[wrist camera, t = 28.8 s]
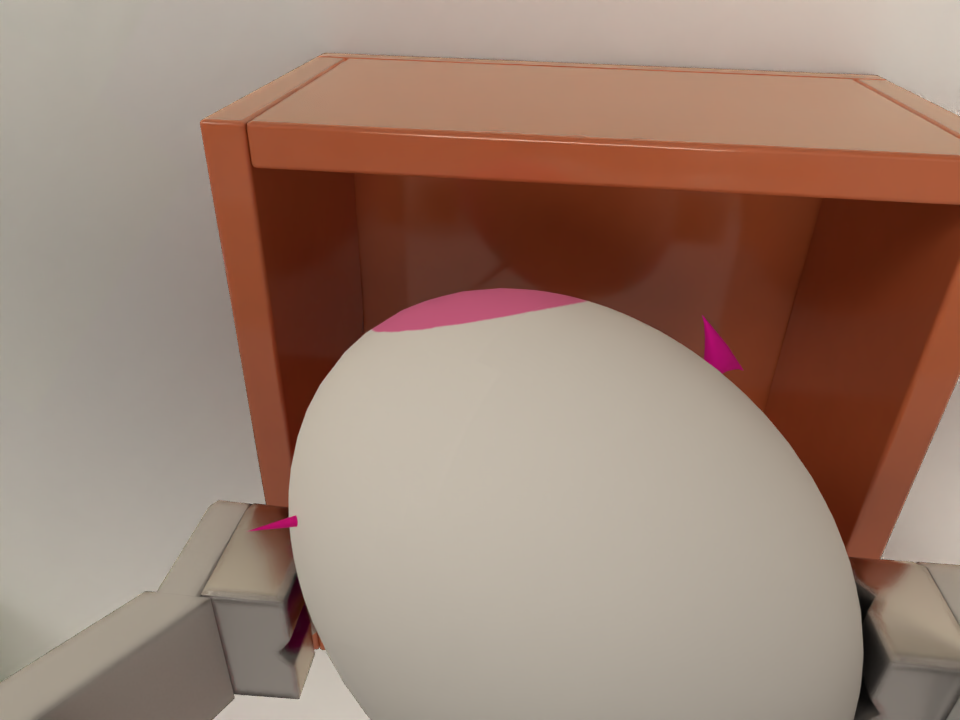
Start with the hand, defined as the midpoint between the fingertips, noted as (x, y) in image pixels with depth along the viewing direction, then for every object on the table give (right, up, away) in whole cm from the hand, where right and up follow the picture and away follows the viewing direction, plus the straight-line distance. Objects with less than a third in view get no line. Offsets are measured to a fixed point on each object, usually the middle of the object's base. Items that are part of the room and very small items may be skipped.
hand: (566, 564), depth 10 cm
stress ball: (0, +2, +2) cm, 2 cm away
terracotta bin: (+1, +4, +6) cm, 7 cm away
